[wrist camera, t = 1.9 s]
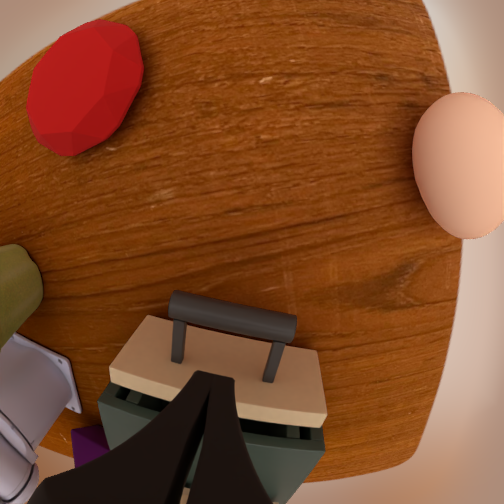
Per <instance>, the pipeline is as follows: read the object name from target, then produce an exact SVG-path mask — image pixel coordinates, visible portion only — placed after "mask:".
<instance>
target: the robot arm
mask: <svg viewBox="0 0 504 504" xmlns="http://www.w3.org/2000/svg"><path fill="white" fill-rule="evenodd" d="M65 407H67V408H69V409H71V410H73V411H75V412H77V413H81V412H82V408H81V404H80V401H79V397H78V393H77V390H76V386H75V382H74V377H73V373H72V369H71V364H70V361H69V360H68V359H67V358H66V357H63V356H61V355H59V354H57V353H55V352H53V351H50V350H48V349H46V348H44V347H42V346H40V345H38V344H36V343H34V342H32V341H30V340H29V339H27V338H25V337H23V336H21V335H19V334H17V333H16V332H15V333H14V334H13V335H12V337H11V338H10V339H9V340H8V341H7V342H6V344H5V345H4V346H3V347H2V348H1V352H0V504H24V503H25V502H26V501H27V500H28V499H29V498H30V499H29V501H28V503H27V504H180V501H181V497H182V493H183V490H184V486H185V483H186V480H187V478H188V475H189V472H190V469H191V467H192V464H193V461H194V459H195V456H196V453H197V451H198V448H199V445H200V442H201V440H202V437H203V442H202V448H201V452H200V456H199V459H198V463H197V467H196V470H195V474H194V478H193V481H192V485H191V488H190V492H189V495H188V499H187V502H186V504H273V502H272V501H271V499H270V497H269V496H268V494H267V492H266V490H265V489H264V487H263V485H262V483H261V481H260V479H259V477H258V475H257V473H256V470H255V468H254V466H253V463H252V461H251V458H250V456H249V453H248V450H247V447H246V444H245V441H244V438H243V434H242V431H241V427H240V422H239V418H238V413H237V408H236V400H235V380H234V379H233V378H232V377H227V376H222V375H218V374H213V373H209V372H204V371H200V370H197V371H195V372H194V373H193V375H192V376H191V378H190V379H189V381H188V382H187V383H186V385H185V386H184V387H183V388H182V390H181V391H180V392H179V393H178V394H177V395H176V397H175V398H174V399H173V400H172V401H171V402H170V403H169V404H168V405H167V406H166V407H165V408H164V409H163V410H162V411H161V412H160V413H159V414H158V415H157V416H156V417H155V418H154V419H153V420H151V421H150V422H149V423H148V424H147V425H146V426H145V427H143V428H142V429H141V430H140V431H138V432H137V433H136V434H134V435H133V436H132V437H130V438H129V439H128V440H126V441H125V442H123V443H122V444H120V445H118V446H117V447H115V448H114V449H112V450H110V451H109V452H107V453H105V454H103V455H102V456H100V457H98V458H96V459H94V460H92V461H89V462H87V463H85V464H83V465H81V466H79V467H76V468H74V469H71V470H69V471H66V472H63V473H60V474H57V475H54V476H51V477H48V478H45V479H44V480H43V481H42V482H41V484H40V485H39V486H38V487H37V485H38V481H39V470H38V466H37V464H36V463H35V461H36V459H37V457H38V455H37V454H36V453H35V452H34V451H35V449H36V448H37V446H38V445H39V443H40V442H41V441H42V439H43V438H44V436H45V435H46V433H47V432H48V430H49V429H50V428H51V426H52V425H53V423H54V422H55V421H56V419H57V418H58V416H59V415H60V414H61V412H62V411H63V409H64V408H65ZM36 487H37V488H36Z"/></svg>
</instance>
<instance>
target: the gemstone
mask: <svg viewBox="0 0 504 504" xmlns="http://www.w3.org/2000/svg"><path fill="white" fill-rule="evenodd" d="M143 72H144V66H143V61H142V56H141V51H140V46H139V41H138V36H137V35H136V34H135V33H134V32H133V31H132V30H131V29H130V28H129V27H128V26H127V25H123V24H119V23H115V22H110V21H106V20H101V19H99V20H95V21H91V22H87V23H85V24H83V25H81V26H79V27H77V28H75V29H73V30H71V31H69V32H67V33H66V34H64V35H62V36H60V38H59V39H58V40H57V41H56V42H55V43H54V44H53V46H52V47H51V48H50V49H49V50H48V51H47V53H46V54H45V55H44V56H43V58H42V59H41V60H40V61H39V63H38V64H37V65H36V67H35V68H34V70H33V75H32V79H31V84H30V88H29V94H28V99H27V105H26V110H27V113H28V117H29V121H30V124H31V128H32V131H33V133H34V135H35V137H36V139H37V141H38V142H39V143H40V144H42V145H43V146H45V147H47V148H48V149H50V150H52V151H53V152H55V153H56V154H58V155H60V156H76V155H78V154H80V153H82V152H84V151H86V150H87V149H89V148H91V147H93V146H95V145H97V144H99V143H101V142H103V141H105V140H107V139H108V138H109V137H110V136H111V135H112V134H113V133H114V132H115V131H116V130H117V129H118V127H119V126H120V125H121V123H122V121H123V119H124V117H125V115H126V113H127V111H128V109H129V107H130V105H131V103H132V102H133V100H134V98H135V96H136V94H137V92H138V91H139V89H140V87H141V82H142V77H143Z"/></svg>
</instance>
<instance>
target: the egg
mask: <svg viewBox="0 0 504 504" xmlns="http://www.w3.org/2000/svg"><path fill="white" fill-rule="evenodd" d="M412 159H413V169H414V175H415V181H416V183H417V186H418V188H419V191H420V194H421V196H422V199H423V201H424V203H425V205H426V207H427V209H428V211H429V213H430V214H431V216H432V217H433V218H434V220H435V221H436V222H437V223H438V224H439V225H440V226H441V227H442V228H443V229H444V230H445V231H447V232H448V233H450V234H451V235H453V236H455V237H458V238H462V239H476V238H480V237H482V236H485V235H487V234H489V233H490V232H492V231H493V230H495V229H496V228H497V227H498V226H499V225H500V224H501V223H502V222H503V221H504V114H503V113H502V112H501V111H500V110H499V109H498V108H496V106H494V105H493V104H492V103H490V102H489V101H488V100H486V99H484V98H482V97H480V96H478V95H475V94H471V93H464V92H460V93H452V94H448V95H446V96H444V97H442V98H440V99H438V100H437V101H436V102H434V103H433V104H432V105H431V106H430V107H429V108H428V109H427V110H426V112H425V113H424V114H423V115H422V117H421V119H420V121H419V123H418V125H417V127H416V129H415V133H414V137H413V145H412Z"/></svg>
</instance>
